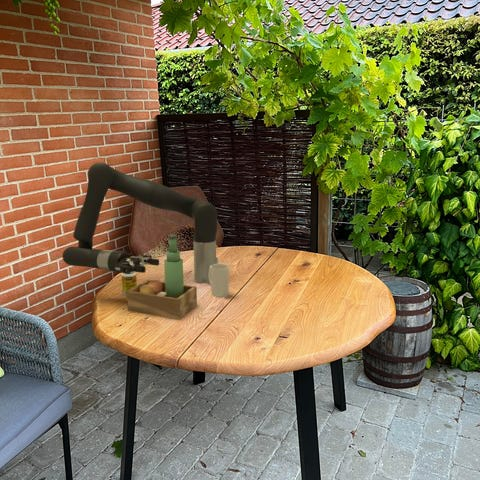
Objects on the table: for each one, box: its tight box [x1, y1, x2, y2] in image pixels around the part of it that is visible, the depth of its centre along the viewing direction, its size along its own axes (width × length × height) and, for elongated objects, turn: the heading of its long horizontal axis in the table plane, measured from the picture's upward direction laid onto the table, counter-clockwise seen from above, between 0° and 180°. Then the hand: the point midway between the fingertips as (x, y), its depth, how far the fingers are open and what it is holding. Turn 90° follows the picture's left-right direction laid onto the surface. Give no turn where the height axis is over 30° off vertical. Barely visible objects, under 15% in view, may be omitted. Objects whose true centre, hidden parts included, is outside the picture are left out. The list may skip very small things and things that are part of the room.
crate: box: [126, 279, 198, 321], centre depth 153 cm, size 13×20×9 cm, turn 68°
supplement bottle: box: [120, 270, 138, 296], centre depth 169 cm, size 6×6×10 cm
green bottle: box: [163, 233, 185, 298], centre depth 149 cm, size 6×6×27 cm
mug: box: [208, 263, 230, 299], centre depth 167 cm, size 10×7×12 cm, turn 42°
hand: (152, 266), depth 152 cm, fingers open, 8 cm apart
